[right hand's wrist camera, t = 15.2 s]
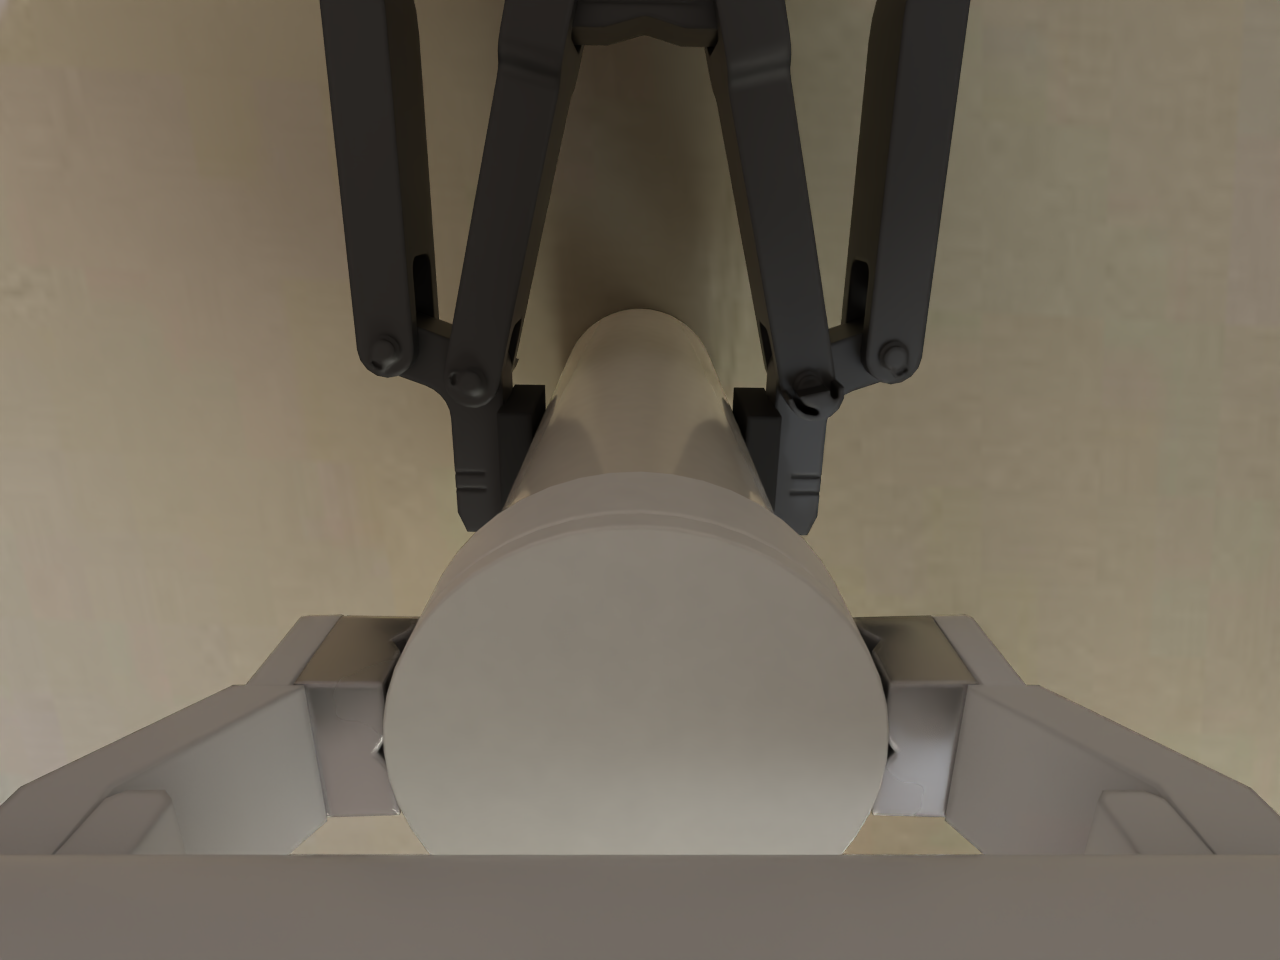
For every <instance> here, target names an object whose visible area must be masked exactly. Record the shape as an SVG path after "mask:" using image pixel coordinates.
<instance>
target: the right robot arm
mask: <svg viewBox="0 0 1280 960" xmlns="http://www.w3.org/2000/svg"><path fill="white" fill-rule="evenodd" d="M419 618H420V617H405V616H352V615H347V616H344V615H308V616H303V617H300V618H299V619H298V621H297V622H296V623H295V624H294V626H293V627H292V628H291V629H290V631H289V632H288V633H287V634H286V636H285V637H284V638H283V639H282V641H281V642H280V643H279V644H278V645H277V647H276V648H275V649H274V650H273V652H272V653H271V654H270V655H269V657H268V658H267V659H266V660H265V662H264V663H263V664H262V665H261V667H260V668H259V669H258V670H257V671H256V673H255V674H254V675H253V676H252V678H251V679H250V680H249V681H248V683H247V684H246V685H232V686H230V687H228V688H226V689H224V690H222V691H220V692H217V693H215V694H213V695H211V696H209V697H207V698H205V699H203V700H201V701H199V702H197V703H194V704H192V705H190V706H188V707H186V708H184V709H182V710H180V711H178V712H176V713H174V714H172V715H169V716H167V717H165V718H163V719H161V720H159V721H157V722H155V723H153V724H151V725H149V726H146V727H144V728H142V729H140V730H138V731H136V732H134V733H132V734H130V735H128V736H126V737H123V738H121V739H119V740H117V741H115V742H113V743H111V744H109V745H107V746H105V747H103V748H101V749H98V750H96V751H94V752H92V753H90V754H88V755H86V756H84V757H82V758H80V759H78V760H75V761H73V762H71V763H69V764H67V765H65V766H63V767H61V768H59V769H57V770H55V771H52V772H50V773H48V774H46V775H44V776H42V777H40V778H38V779H36V780H34V781H32V782H30V783H27V784H25V785H23V786H21V787H20V788H19V789H18V790H17V791H15V792H14V793H13V794H12V795H11V796H10V797H9V798H8V799H7V800H6V801H5V802H4V803H3V804H2V805H1V806H0V960H1280V816H1279V815H1278V814H1277V813H1276V812H1275V811H1274V810H1273V809H1272V808H1271V807H1270V806H1269V805H1268V804H1267V803H1266V802H1265V801H1264V800H1263V799H1262V798H1261V797H1260V796H1259V795H1258V794H1257V793H1256V792H1255V791H1254V790H1252V789H1251V788H1250V787H1248V786H1246V785H1244V784H1242V783H1240V782H1237V781H1235V780H1233V779H1231V778H1229V777H1227V776H1225V775H1223V774H1221V773H1219V772H1217V771H1215V770H1213V769H1211V768H1209V767H1207V766H1204V765H1202V764H1200V763H1198V762H1196V761H1194V760H1192V759H1190V758H1188V757H1186V756H1184V755H1182V754H1180V753H1178V752H1176V751H1174V750H1171V749H1169V748H1167V747H1165V746H1163V745H1161V744H1159V743H1157V742H1155V741H1153V740H1151V739H1149V738H1147V737H1145V736H1143V735H1141V734H1138V733H1136V732H1134V731H1132V730H1130V729H1128V728H1126V727H1124V726H1122V725H1120V724H1118V723H1116V722H1114V721H1112V720H1110V719H1108V718H1106V717H1103V716H1101V715H1099V714H1097V713H1095V712H1093V711H1091V710H1089V709H1087V708H1085V707H1083V706H1081V705H1079V704H1077V703H1075V702H1073V701H1070V700H1068V699H1066V698H1064V697H1062V696H1060V695H1058V694H1056V693H1054V692H1052V691H1050V690H1048V689H1046V688H1044V687H1042V686H1040V685H1026V684H1025V683H1024V682H1023V681H1022V679H1021V678H1020V677H1019V676H1018V674H1017V673H1016V672H1015V670H1014V669H1013V668H1012V667H1011V665H1010V664H1009V663H1008V662H1007V660H1006V659H1005V658H1004V657H1003V655H1002V654H1001V653H1000V652H999V650H998V649H997V648H996V647H995V645H994V644H993V643H992V642H991V640H990V639H989V638H988V636H987V635H986V634H985V633H984V631H983V630H982V629H981V628H980V626H979V625H978V624H977V623H976V621H975V620H974V619H973V618H972V617H970V616H967V615H965V614H963V615H940V616H931V615H930V616H889V617H854V618H853V620H854V622H855V624H856V626H857V628H858V630H859V632H860V634H861V636H862V638H863V640H864V642H865V644H866V646H867V648H868V650H869V652H870V655H871V657H872V659H873V662H874V664H875V666H876V669H877V671H878V673H879V676H880V679H881V683H882V687H883V691H884V695H885V699H886V703H887V712H888V724H889V741H888V753H887V762H886V766H885V770H884V775H883V779H882V783H881V787H880V790H879V792H878V795H877V797H876V800H875V802H874V804H873V807H872V809H871V812H872V814H873V815H886V816H922V817H945V821H946V822H947V823H948V824H950V825H951V826H952V827H953V828H954V829H955V830H956V831H958V832H959V833H960V834H961V835H962V836H963V837H964V838H965V839H967V840H968V841H969V842H970V843H971V844H972V845H973V846H975V847H976V848H977V849H978V850H979V851H980V852H981V853H983V854H984V855H288V854H290V853H291V852H292V851H293V850H294V849H295V848H296V847H298V846H299V845H300V844H301V843H302V842H303V841H305V840H306V839H307V838H308V837H309V836H310V835H311V834H313V833H314V832H315V831H316V830H317V829H318V828H320V827H321V826H322V825H323V824H324V823H325V822H326V821H327V817H349V816H384V815H400V813H401V809H400V807H399V805H398V803H397V800H396V797H395V794H394V792H393V789H392V786H391V783H390V780H389V776H388V771H387V766H386V760H385V755H384V746H383V718H384V710H385V702H386V695H387V692H388V688H389V685H390V682H391V678H392V675H393V672H394V668H395V666H396V664H397V662H398V660H399V658H400V656H401V654H402V652H403V650H404V648H405V646H406V644H407V641H408V640H409V638H410V636H411V634H412V632H413V630H414V628H415V626H416V624H417V622H418V620H419Z"/></svg>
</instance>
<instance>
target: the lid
mask: <svg viewBox="0 0 1280 960" xmlns="http://www.w3.org/2000/svg"><path fill="white" fill-rule="evenodd" d="M888 741H889V724H888V712H887V703H886V699H885V695H884V691H883V687H882V683H881V679H880V676H879V673H878V671H877V669H876V666H875V664H874V662H873V659H872V657H871V655H870V652H869V650H868V648H867V646H866V644H865V642H864V640H863V638H862V636H861V634H860V632H859V630H858V628H857V626H856V624H855V622H854V620H853V618H852V616H851V614H850V612H849V610H848V608H847V606H846V604H845V602H844V600H843V598H842V596H841V594H840V592H839V590H838V588H837V586H836V584H835V582H834V580H833V578H832V577H831V575H830V574H829V572H828V570H827V569H826V567H825V565H824V564H823V562H822V561H821V559H820V558H819V557H818V556H817V554H816V553H815V552H814V551H813V550H812V548H811V547H810V546H809V545H808V544H807V543H806V541H805V540H804V539H803V538H802V537H801V536H800V535H799V534H797V533H796V532H795V531H794V530H793V529H792V528H791V527H790V526H789V525H787V524H786V523H785V522H784V521H783V520H782V519H780V518H779V517H777V516H776V515H774V514H773V513H771V512H770V511H768V510H767V509H765V508H764V507H762V506H761V505H759V504H758V503H756V502H754V501H752V500H750V499H748V498H746V497H744V496H742V495H740V494H738V493H736V492H734V491H732V490H729V489H726V488H723V487H720V486H717V485H714V484H711V483H709V482H706V481H703V480H698V479H693V478H688V477H684V476H679V475H674V474H665V473H653V472H619V473H606V474H600V475H594V476H588V477H582V478H578V479H574V480H571V481H568V482H564V483H561V484H558V485H554V486H551V487H548V488H546V489H544V490H542V491H539V492H537V493H535V494H533V495H530V496H528V497H526V498H524V499H522V500H520V501H519V502H517V503H515V504H514V505H512V506H510V507H509V508H507V509H505V510H504V511H502V512H501V513H499V514H497V515H496V516H495V517H494V518H493V519H491V520H490V521H489V522H488V523H486V524H485V525H484V526H483V527H482V528H480V529H479V530H478V531H477V532H476V533H475V534H474V535H473V536H472V537H471V538H470V539H469V540H468V541H467V542H466V543H465V544H464V546H463V547H462V548H461V549H460V550H459V551H458V552H457V553H456V555H455V556H454V558H453V559H452V561H451V562H450V564H449V565H448V567H447V568H446V570H445V571H444V572H443V574H442V576H441V578H440V580H439V581H438V583H437V585H436V587H435V589H434V591H433V593H432V595H431V597H430V599H429V601H428V603H427V605H426V607H425V609H424V610H423V612H422V614H421V616H420V618H419V620H418V622H417V624H416V626H415V628H414V630H413V632H412V634H411V636H410V638H409V640H408V641H407V644H406V646H405V648H404V650H403V652H402V654H401V656H400V658H399V660H398V662H397V664H396V666H395V668H394V672H393V675H392V678H391V682H390V685H389V688H388V692H387V695H386V702H385V710H384V718H383V746H384V755H385V760H386V766H387V771H388V776H389V780H390V783H391V786H392V789H393V792H394V794H395V797H396V800H397V803H398V805H399V807H400V809H401V811H402V813H403V815H404V816H405V818H406V820H407V822H408V824H409V826H410V828H411V829H412V831H413V832H414V833H415V835H416V836H417V838H418V839H419V840H420V842H421V843H422V845H423V846H424V847H425V849H426V850H427V851H428V852H429V853H430V854H431V855H842V854H843V852H844V851H845V850H846V849H847V847H848V846H849V845H850V844H851V842H852V841H853V840H854V838H855V837H856V836H857V834H858V832H859V831H860V829H861V827H862V826H863V824H864V822H865V821H866V819H867V817H868V815H869V814H870V812H871V809H872V807H873V804H874V802H875V800H876V797H877V795H878V792H879V790H880V787H881V783H882V779H883V775H884V770H885V766H886V762H887V753H888Z"/></svg>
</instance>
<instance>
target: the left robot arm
mask: <svg viewBox="0 0 1280 960" xmlns="http://www.w3.org/2000/svg"><path fill="white" fill-rule="evenodd" d="M969 6H970V0H877V1H876V5H875V9H874V13H873V17H872V23H871V30H870V37H869V44H868V54H867V64H866V74H865V84H864V95H863V105H862V115H861V125H860V135H859V146H858V156H857V166H856V176H855V186H854V196H853V207H852V217H851V227H850V237H849V247H848V258H847V268H846V278H845V288H844V298H843V308H842V319H841V325H839V326H836V327H833V328H830V329H828V323H827V317H826V310H825V303H824V297H823V290H822V283H821V277H820V270H819V263H818V256H817V250H816V243H815V236H814V230H813V223H812V216H811V210H810V203H809V196H808V190H807V183H806V176H805V170H804V163H803V156H802V150H801V143H800V136H799V130H798V123H797V116H796V110H795V103H794V96H793V90H792V83H791V75H790V63H791V42H790V33H789V26H788V20H787V13H786V6H785V0H505V4H504V10H503V15H502V21H501V27H500V33H499V41H498V73H497V79H496V85H495V90H494V96H493V101H492V107H491V113H490V118H489V124H488V129H487V135H486V140H485V146H484V152H483V157H482V163H481V168H480V174H479V180H478V185H477V191H476V196H475V202H474V208H473V213H472V219H471V224H470V230H469V235H468V241H467V247H466V252H465V258H464V263H463V269H462V275H461V280H460V286H459V291H458V297H457V302H456V308H455V314H454V319H453V324H450V323H447V322H444V321H442V320H439V311H438V297H437V282H436V268H435V254H434V240H433V225H432V211H431V197H430V183H429V169H428V154H427V140H426V126H425V112H424V97H423V83H422V69H421V55H420V40H419V30H418V22H417V14H416V8H415V3H414V0H320V9H321V18H322V27H323V37H324V46H325V55H326V65H327V74H328V83H329V93H330V102H331V111H332V120H333V130H334V139H335V148H336V158H337V167H338V176H339V186H340V195H341V204H342V214H343V223H344V232H345V241H346V251H347V260H348V269H349V279H350V288H351V297H352V307H353V316H354V325H355V334H356V344H357V351H358V354H359V357H360V360H361V362H362V363H363V364H364V366H365V367H366V368H367V369H368V370H369V371H371V372H372V373H374V374H375V375H377V376H382V377H387V378H389V377H394V376H401V377H403V378H406V379H409V380H412V381H414V382H417V383H420V384H423V385H426V386H428V387H430V388H432V389H434V390H435V391H436V392H437V393H439V394H440V395H441V396H442V398H443V399H444V400H445V401H446V403H447V405H448V408H449V410H450V414H451V422H452V436H453V450H454V464H455V472H456V475H455V478H456V487H457V491H456V492H457V506H458V513H459V515H460V517H461V519H462V521H463V523H464V525H465V527H466V529H467V531H468V532H477V531H478V530H479V529H480V528H482V527H483V526H484V525H485V524H486V523H488V522H489V521H490V520H491V519H493V518H494V517H495V516H496V515H497V514H499V513H501V512H502V509H503V507H504V505H505V502H506V500H507V498H508V495H509V493H510V491H511V489H512V486H513V484H514V482H515V479H516V477H517V475H518V473H519V470H520V468H521V466H522V463H523V461H524V459H525V457H526V454H527V452H528V450H529V447H530V445H531V443H532V441H533V438H534V436H535V434H536V431H537V429H538V427H539V425H540V422H541V420H542V418H543V415H544V413H545V411H546V403H545V385H515V386H514V387H513V385H512V371H513V370H514V368H515V367H516V365H517V362H518V360H519V359H517V358H516V356H517V351H518V346H519V341H520V337H521V332H522V327H523V322H524V318H525V313H526V308H527V303H528V299H529V294H530V289H531V284H532V280H533V275H534V270H535V265H536V260H537V256H538V251H539V246H540V241H541V237H542V232H543V227H544V222H545V218H546V213H547V208H548V203H549V199H550V194H551V189H552V184H553V179H554V175H555V170H556V165H557V160H558V156H559V151H560V146H561V141H562V137H563V132H564V127H565V122H566V118H567V113H568V108H569V104H570V100H571V96H572V93H573V91H574V88H575V84H576V81H577V76H578V72H579V67H580V62H581V57H582V53H583V48H584V45H610V44H614V43H617V42H621V41H624V40H628V39H631V38H635V37H638V36H642V35H647V36H650V37H653V38H656V39H660V40H663V41H666V42H669V43H672V44H675V45H678V46H684V47H705V53H706V58H707V64H708V69H709V75H710V80H711V85H712V89H713V92H714V95H715V98H716V101H717V106H718V111H719V117H720V122H721V128H722V133H723V139H724V144H725V150H726V155H727V161H728V166H729V172H730V177H731V183H732V188H733V194H734V200H735V205H736V211H737V216H738V222H739V227H740V233H741V238H742V244H743V249H744V255H745V260H746V266H747V271H748V277H749V282H750V288H751V294H752V299H753V305H754V310H755V316H756V321H757V327H758V332H759V338H760V343H761V349H762V354H763V360H764V365H765V370H766V372H767V384H766V391H765V389H764V388H734V396H733V415H734V417H735V419H736V422H737V424H738V427H739V429H740V432H741V434H742V436H743V439H744V441H745V444H746V446H747V449H748V451H749V453H750V456H751V458H752V461H753V463H754V465H755V468H756V470H757V473H758V475H759V478H760V480H761V482H762V485H763V487H764V490H765V492H766V494H767V497H768V499H769V502H770V504H771V507H772V509H773V511H774V514H775V515H776V516H777V517H779V518H780V519H782V520H783V521H784V522H785V523H786V524H787V525H789V526H790V527H791V528H792V529H793V530H794V531H795V532H796V533H797V534H799V535H807V534H808V532H809V531H810V529H811V527H812V525H813V523H814V521H815V519H816V518H817V513H818V503H819V492H820V483H821V473H822V463H823V453H824V443H825V433H826V423H827V418H828V417H830V416H832V415H833V414H834V413H835V412H836V411H837V410H838V409H839V407H840V405H841V403H842V401H843V399H844V395H845V394H847V393H849V392H852V391H854V390H857V389H860V388H863V387H866V386H869V385H872V384H875V383H878V382H883V383H888V384H894V383H900V382H903V381H904V380H906V379H908V378H909V377H911V376H912V375H913V374H914V372H915V371H916V370H917V369H918V367H919V364H920V361H921V358H922V352H923V345H924V338H925V330H926V323H927V316H928V308H929V301H930V293H931V286H932V279H933V271H934V264H935V257H936V249H937V242H938V234H939V227H940V220H941V212H942V205H943V198H944V190H945V183H946V175H947V168H948V161H949V153H950V146H951V139H952V131H953V124H954V116H955V109H956V102H957V94H958V87H959V80H960V72H961V65H962V57H963V50H964V43H965V35H966V28H967V21H968V13H969Z"/></svg>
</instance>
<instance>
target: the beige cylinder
mask: <svg viewBox="0 0 1280 960" xmlns="http://www.w3.org/2000/svg"><path fill="white" fill-rule="evenodd" d="M619 472H653V473H665V474H674V475H679V476H684V477H688V478H693V479H698V480H703V481H706V482H709V483H711V484H714V485H717V486H720V487H723V488H726V489H729V490H732V491H734V492H736V493H738V494H740V495H742V496H744V497H746V498H748V499H750V500H752V501H754V502H756V503H758V504H759V505H761V506H762V507H764V508H765V509H767V510H768V511H770V512H771V513H773V514H774V511H773V509H772V507H771V504H770V502H769V499H768V497H767V494H766V492H765V490H764V487H763V485H762V482H761V480H760V478H759V475H758V473H757V470H756V468H755V465H754V463H753V461H752V458H751V456H750V453H749V451H748V449H747V446H746V444H745V441H744V439H743V436H742V434H741V432H740V429H739V427H738V424H737V422H736V419H735V417H734V415H733V412H732V410H731V407H730V405H729V403H728V400H727V398H726V395H725V393H724V390H723V388H722V386H721V383H720V381H719V378H718V376H717V374H716V371H715V369H714V366H713V364H712V361H711V359H710V357H709V354H708V352H707V350H706V348H705V346H704V345H703V343H702V341H701V340H700V339H699V337H698V336H697V335H696V334H695V333H694V332H693V331H692V330H691V329H690V328H689V327H688V326H687V325H686V324H684V323H683V322H681V321H680V320H678V319H676V318H674V317H673V316H671V315H668V314H665V313H663V312H659V311H655V310H650V309H629V310H624V311H619V312H616V313H613V314H610V315H608V316H606V317H604V318H602V319H601V320H599V321H597V322H596V323H594V324H593V325H592V326H591V327H590V328H588V329H587V330H586V331H585V332H584V334H583V335H582V336H581V337H580V338H579V340H578V341H577V343H576V344H575V346H574V348H573V350H572V352H571V354H570V356H569V358H568V360H567V363H566V365H565V367H564V370H563V372H562V374H561V376H560V379H559V381H558V383H557V386H556V388H555V390H554V392H553V395H552V397H551V399H550V402H549V404H548V406H547V408H546V411H545V413H544V415H543V418H542V420H541V422H540V425H539V427H538V429H537V431H536V434H535V436H534V438H533V441H532V443H531V445H530V447H529V450H528V452H527V454H526V457H525V459H524V461H523V463H522V466H521V468H520V470H519V473H518V475H517V477H516V479H515V482H514V484H513V486H512V489H511V491H510V493H509V495H508V498H507V500H506V502H505V505H504V507H503V509H502V511H504V510H505V509H507V508H509V507H510V506H512V505H514V504H515V503H517V502H519V501H520V500H522V499H524V498H526V497H528V496H530V495H533V494H535V493H537V492H539V491H542V490H544V489H546V488H548V487H551V486H554V485H558V484H561V483H564V482H568V481H571V480H574V479H578V478H582V477H588V476H594V475H600V474H606V473H619ZM774 515H775V514H774Z"/></svg>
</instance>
